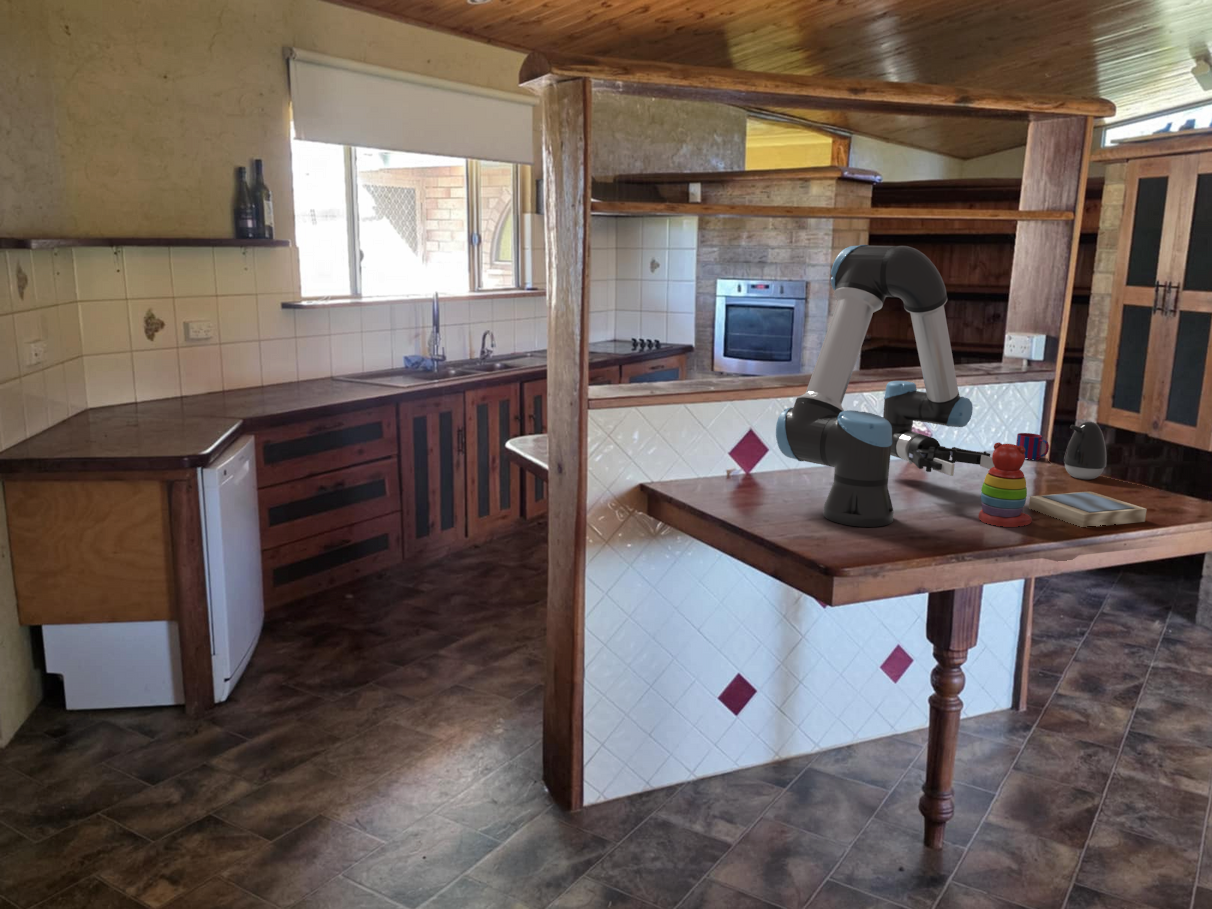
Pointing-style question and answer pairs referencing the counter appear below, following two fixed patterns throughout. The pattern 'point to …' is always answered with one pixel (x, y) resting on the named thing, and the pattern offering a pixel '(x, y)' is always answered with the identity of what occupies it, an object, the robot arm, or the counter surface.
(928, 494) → the counter surface
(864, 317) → the robot arm
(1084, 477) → the pump dispenser
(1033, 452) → the mug
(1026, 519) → the stacking bear
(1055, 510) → the plinth
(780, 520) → the counter surface
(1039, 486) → the counter surface
